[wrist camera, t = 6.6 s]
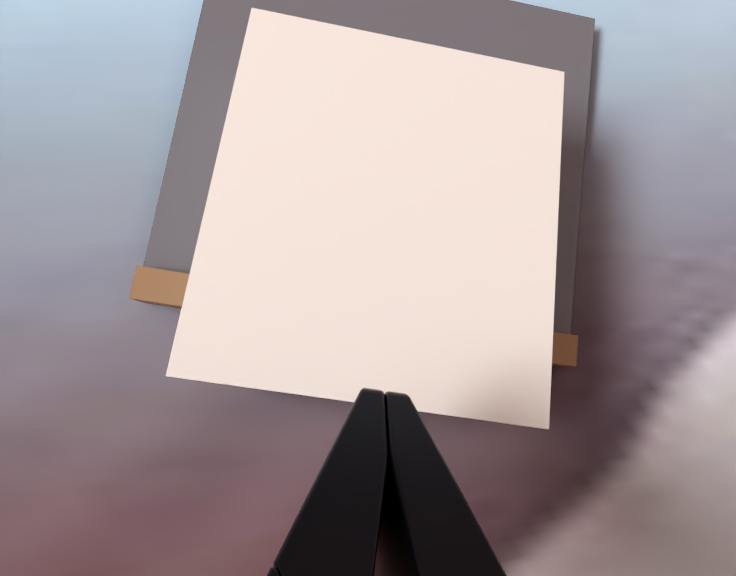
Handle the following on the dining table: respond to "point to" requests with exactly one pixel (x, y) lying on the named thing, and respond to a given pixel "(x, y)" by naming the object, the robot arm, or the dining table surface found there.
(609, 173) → the dining table surface
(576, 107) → the mat
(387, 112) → the tile
